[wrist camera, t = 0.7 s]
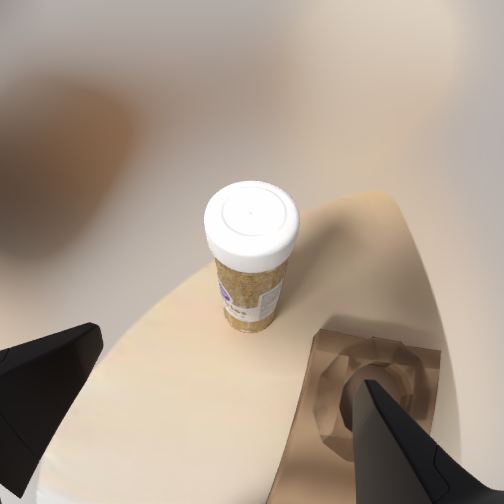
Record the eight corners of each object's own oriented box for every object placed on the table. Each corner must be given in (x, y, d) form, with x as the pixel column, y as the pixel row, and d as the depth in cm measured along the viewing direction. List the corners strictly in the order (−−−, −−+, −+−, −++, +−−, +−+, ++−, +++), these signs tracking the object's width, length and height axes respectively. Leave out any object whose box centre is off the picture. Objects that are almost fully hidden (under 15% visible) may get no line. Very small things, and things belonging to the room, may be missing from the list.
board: (391, 509, 13) (403, 516, 11) (264, 505, 15) (266, 516, 13) (426, 354, 21) (440, 348, 19) (314, 334, 23) (321, 326, 21)
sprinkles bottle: (213, 309, 24) (183, 210, 13) (250, 277, 26) (252, 164, 14) (249, 345, 22) (251, 273, 11) (286, 310, 24) (321, 212, 13)
